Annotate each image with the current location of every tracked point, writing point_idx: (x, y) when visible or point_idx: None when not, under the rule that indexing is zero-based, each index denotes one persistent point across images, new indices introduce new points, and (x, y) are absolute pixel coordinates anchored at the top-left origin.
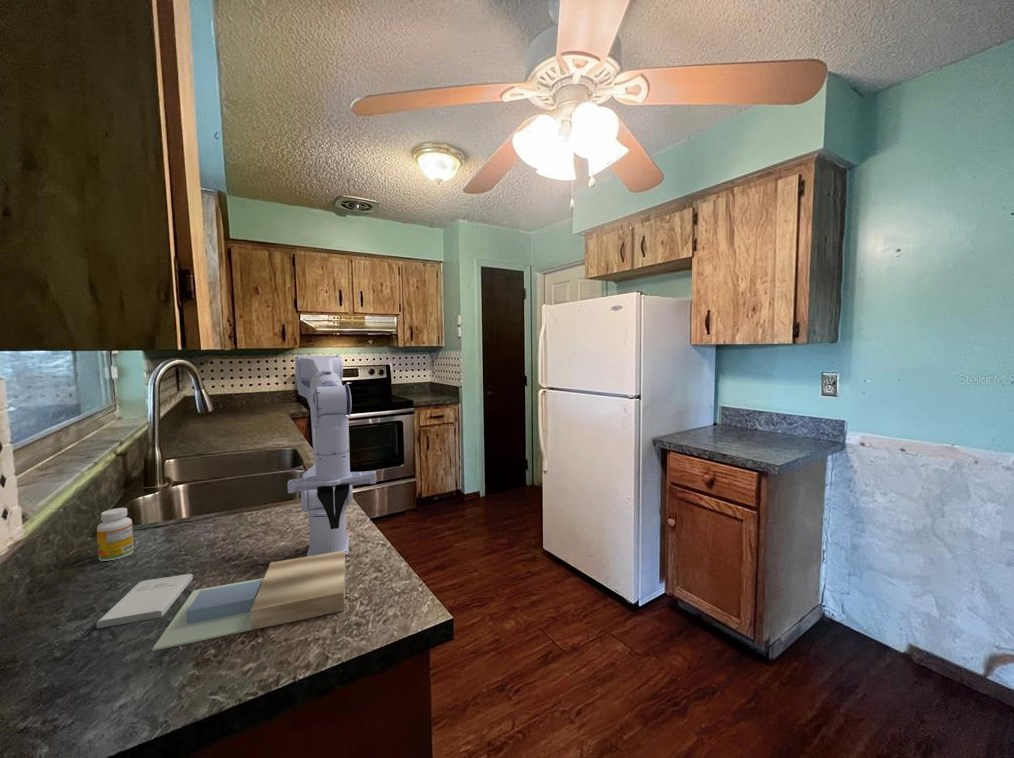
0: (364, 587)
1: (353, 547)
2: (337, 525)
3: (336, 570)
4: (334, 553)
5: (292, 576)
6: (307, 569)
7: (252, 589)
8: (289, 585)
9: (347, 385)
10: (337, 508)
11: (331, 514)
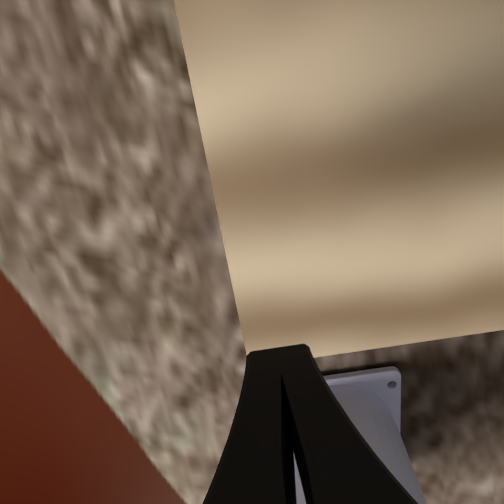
0: (124, 138)
1: None
2: (255, 362)
3: (252, 197)
4: None
5: (453, 183)
6: (391, 235)
7: None
8: (461, 94)
9: None
10: (257, 497)
11: (316, 436)
